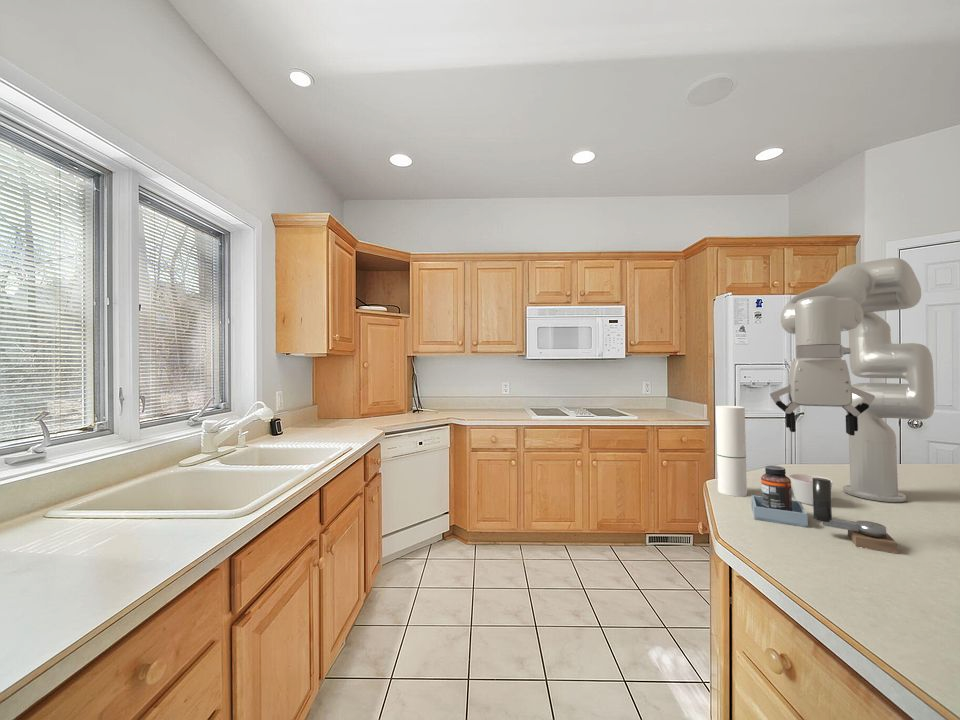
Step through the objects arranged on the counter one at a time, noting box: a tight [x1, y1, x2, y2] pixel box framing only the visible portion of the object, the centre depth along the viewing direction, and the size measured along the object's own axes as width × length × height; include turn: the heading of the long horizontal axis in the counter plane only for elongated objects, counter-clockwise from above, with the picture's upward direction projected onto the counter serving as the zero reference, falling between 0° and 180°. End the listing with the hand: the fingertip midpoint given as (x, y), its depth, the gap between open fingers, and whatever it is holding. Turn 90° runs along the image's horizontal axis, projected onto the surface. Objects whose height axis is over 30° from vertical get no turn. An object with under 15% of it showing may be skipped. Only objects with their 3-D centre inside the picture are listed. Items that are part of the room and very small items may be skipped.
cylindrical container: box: [715, 405, 748, 497], centre depth 115 cm, size 7×7×25 cm
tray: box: [750, 494, 809, 528], centre depth 97 cm, size 10×10×3 cm
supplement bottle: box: [760, 465, 793, 511], centre depth 97 cm, size 6×6×11 cm
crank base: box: [847, 530, 899, 555], centre depth 81 cm, size 6×6×2 cm
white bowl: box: [788, 473, 834, 506], centre depth 106 cm, size 9×9×6 cm
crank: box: [812, 477, 888, 537], centre depth 83 cm, size 11×4×10 cm, turn 52°
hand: (820, 432), depth 85 cm, fingers open, 9 cm apart
